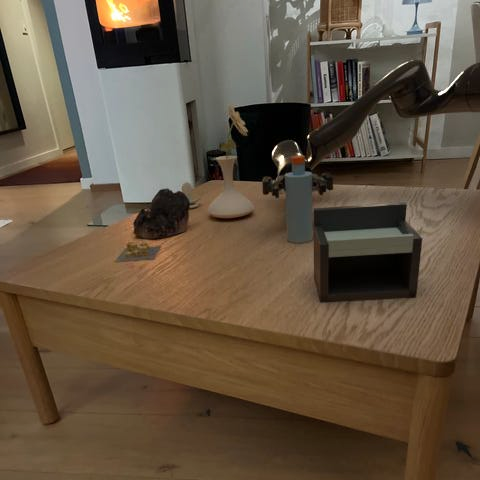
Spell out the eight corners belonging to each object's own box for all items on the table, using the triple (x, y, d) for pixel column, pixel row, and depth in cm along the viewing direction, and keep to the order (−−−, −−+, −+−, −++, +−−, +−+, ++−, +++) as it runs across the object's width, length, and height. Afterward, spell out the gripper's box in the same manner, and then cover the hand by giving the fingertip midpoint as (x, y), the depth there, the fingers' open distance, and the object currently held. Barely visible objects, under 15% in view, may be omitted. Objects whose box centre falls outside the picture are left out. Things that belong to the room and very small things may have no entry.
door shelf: (320, 302, 71) (320, 227, 65) (313, 276, 79) (313, 208, 74) (416, 297, 70) (424, 220, 64) (399, 271, 78) (404, 202, 73)
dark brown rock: (122, 242, 107) (115, 199, 101) (147, 220, 118) (141, 180, 112) (178, 247, 104) (173, 203, 98) (198, 224, 115) (195, 183, 109)
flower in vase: (238, 224, 110) (229, 106, 99) (199, 220, 116) (185, 108, 104) (266, 209, 120) (260, 100, 108) (228, 206, 125) (219, 103, 114)
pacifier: (196, 210, 125) (204, 203, 130) (193, 186, 122) (201, 180, 127) (171, 210, 127) (179, 203, 132) (167, 186, 124) (176, 181, 129)
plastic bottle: (311, 234, 99) (310, 153, 92) (313, 242, 95) (313, 157, 87) (286, 235, 100) (283, 155, 92) (287, 243, 95) (284, 160, 88)
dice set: (128, 250, 100) (126, 241, 99) (152, 248, 99) (150, 239, 98) (122, 258, 95) (120, 249, 94) (147, 257, 95) (145, 248, 94)
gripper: (261, 159, 105) (261, 174, 90) (326, 154, 103) (337, 168, 89) (263, 194, 108) (263, 213, 94) (326, 189, 107) (336, 208, 93)
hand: (299, 191), depth 91 cm, fingers open, 8 cm apart
